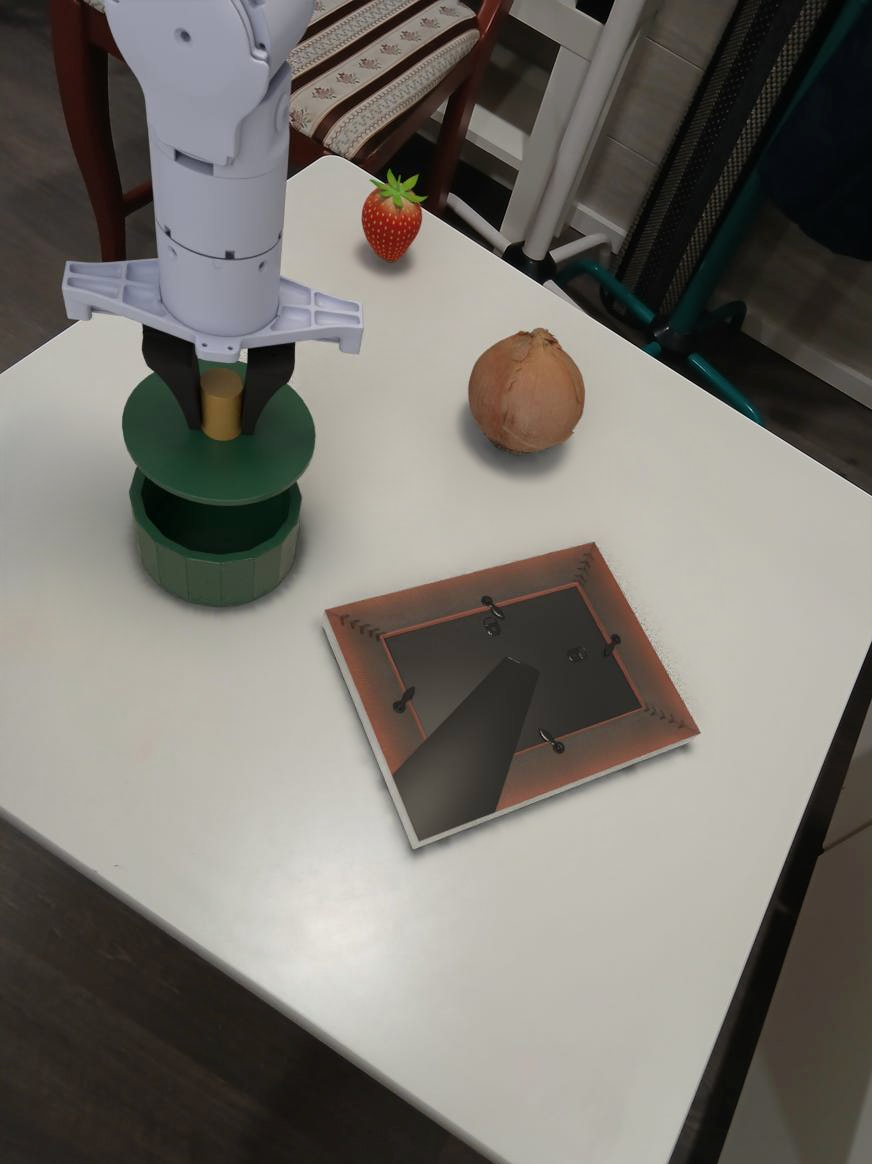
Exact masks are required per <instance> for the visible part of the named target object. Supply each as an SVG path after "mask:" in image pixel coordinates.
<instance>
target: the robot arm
mask: <svg viewBox="0 0 872 1164" xmlns="http://www.w3.org/2000/svg"><path fill="white" fill-rule="evenodd" d="M97 1H98V2H99V3H100V4H102V6H104V11H105V16H106V20H107V23H108V27H109V29H110V32H111V34H112V37H113V40H114V42H115V45H116V47H117V48H118V50H119V51H120V54H121V56H122V57H123V58H124V61H125V63H126V64H127V65H128V67H129V68H130V70H131V71H132V73H133V74H134V76H135V77H136V79H137V81H138V83H139V85H140V87H141V90H142V93H143V96H144V102H145V111H146V112H145V113H146V124H147V131H148V133H147V134H148V146H149V157H150V169H151V184H152V196H153V197H152V198H153V209H154V221H155V222H154V225H155V235H156V236H155V237H156V251H157V257H156V258H155V257H154V258H143V259H132V260H131V259H130V260H119V261H108V262H106V261H105V262H104V261H103V262H89V261H86V262H85V261H84V262H83V261H75V260H66V261H65V266H64V272H63V278H62V283H61V291H62V297H63V301H64V306H65V311H66V316H67V319H69V320H77V321H84V322H89V321H91V320H92V318H93V314H102V315H109V316H117V317H124V318H127V319H129V320H131V321H134V322H137V323H139V324H141V326H142V332H141V333H142V339H141V340H142V341H141V355H142V357H143V360H144V363H145V365H146V367H148V369H150V370H151V371H152V372H155V373H156V374H157V375H158V376H159V377H160V378H161V379H162V380H163V381H164V382H165V384H166V385H167V386H168V387H169V389H170V390H171V392H172V393H173V395H174V396H175V398H176V400H177V402H178V403H179V405H180V407H181V409H182V411H183V414H184V416H185V419H186V422H187V425H188V428H189V429H190V430H199V431H201V407H200V384H199V381H200V370H199V362H198V358H200V359H203V360H206V361H215V362H224V363H235V362H237V361H240V358H241V351H242V350H246V349H247V350H246V352H247V354H246V363H247V368H246V375H245V382H244V389H243V411H242V435H253V434H254V430H255V426H256V423H257V421H258V419H259V417H260V414H261V413H262V411H263V409H264V407H265V406H266V404H267V403H268V401H269V400H270V399H271V397H272V396H273V395H274V394H275V393H276V392H277V391H278V390H279V389H280V388H281V387H282V386H284V385H285V384H289V382H290V381H291V378H292V376H293V374H294V373H295V369H296V368H295V367H296V343H298V342H306V341H315V342H322V343H331V344H338V350H339V351H340V352H341V353H344V354H350V355H360V353H361V352H360V351H361V347H362V342H363V335H364V330H365V323H364V322H365V319H364V303H363V302H362V301H357V300H353V299H348V298H343V297H339V296H336V295H333V294H330V293H328V292H325V291H322V290H319V289H317V288H314V287H312V286H309V285H307V284H305V283H302V282H300V281H296V280H294V279H291V278H289V277H286V276H283V275H281V268H282V252H283V240H284V239H283V238H284V228H285V227H284V226H285V212H286V211H285V210H286V195H287V182H288V181H287V180H288V167H289V166H288V165H289V152H290V151H289V150H290V125H289V124H290V107H291V93H292V78H293V77H292V76H293V67H292V65H291V63H290V62H288V61H287V59H288V57H289V56H290V55H291V53H292V52H293V51H294V49H295V48H296V47H297V45H298V44H299V43H300V41H301V40H302V38H303V36H304V35H305V33H306V31H307V29H308V27H309V25H310V22H311V20H312V18H313V15H314V12H315V9H316V4H317V0H97Z"/></svg>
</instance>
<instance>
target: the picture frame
mask: <svg viewBox="0 0 872 1164" xmlns="http://www.w3.org/2000/svg"><path fill="white" fill-rule="evenodd" d="M603 556H604V555H602V552H601V551H600V549H599V547H598V546H597V544H596V542H595V541H592V542H587V543H583V544H579V545H576V546H572V547H569V548H568V547H567V548H565V549H560V550H555V551H552V552H547V553H544V554H541V555H537V556H536V555H535V556H531V557H528V558H524V559H521V560H516V561H513V562H509V563H504V564H501V565H495V566H493V567H489V568H485V569H480V570H476V571H473V572H469V573H465V574H461V575H456V576H453V577H450V578H445V579H441V580H436V581H434V582H430V583H425V584H422V585H418V586H414V587H410V588H407V589H406V588H405V589H402V590H401V589H400V590H398V591H393V592H391V593H390V592H389V593H386V594H382V595H377V596H374V597H370V598H366V599H363V600H358V601H354V602H350V603H346V604H342V605H339V606H335V607H330V608H327V609H324V612H323V616H322V620H321V624H322V627H323V629H324V632H325V634H326V637H327V639H328V642H329V645H330V647H331V650H332V652H333V655H334V658H335V659H336V662H337V664H338V667H339V669H340V672H341V674H342V677H343V679H344V682H345V684H346V686H347V689H348V691H349V694H350V696H351V699H352V702H353V704H354V706H355V710H356V711H357V714H358V717H359V719H360V721H361V724H362V726H363V729H364V731H365V735H366V737H367V739H368V741H369V744H370V746H371V749H372V751H373V754H374V756H375V759H376V761H377V763H378V764H377V765H378V766H379V768H380V771H381V773H382V777H383V779H384V781H385V785H386V786H387V788H388V791H389V794H390V796H391V798H392V801H393V804H394V806H395V809H396V811H397V814H398V816H399V818H400V821H401V823H402V826H403V828H404V831H405V833H406V835H407V838H408V841H409V843H410V846H411V848H412V850H416V849H419V848H421V847H423V846H426V845H429V844H431V843H433V842H437V841H439V840H441V839H444V838H447V837H450V836H451V835H454V834H457V833H459V832H462V831H465V830H468V829H470V828H471V827H472V828H473V827H475V826H477V825H480V824H482V823H483V824H484V823H485V822H489V821H490V820H493V819H496V818H498V817H501V816H503V815H505V814H509V813H512V812H513V811H517V810H518V809H521V808H524V807H526V806H530V805H532V804H534V803H537V802H539V801H542V800H545V799H547V798H550V797H552V796H555V795H557V794H560V793H563V792H565V791H567V790H570V789H573V788H576V787H578V786H580V785H584V784H586V783H589V782H591V781H593V780H596V779H598V778H601V777H604V776H607V775H609V774H611V773H614V772H616V771H620V770H621V769H625V768H627V767H630V766H632V765H635V764H638V763H640V762H642V761H644V760H647V759H650V758H652V757H655V756H658V755H660V754H663V753H665V752H669V751H670V750H673V749H676V748H678V747H682V746H683V745H686V744H688V743H690V742H692V741H693V740H694V739H695V738H697V737H698V736H699V735H700V734H701V731H700V729H699V727H698V725H697V723H696V721H695V720H694V717H693V715H692V714H691V713H690V711H689V708H688V707H687V706H686V704H685V701H684V700H683V698H682V697H681V695H680V693H679V690H678V689H677V687H676V686H675V684H674V683H673V680H672V678H671V676H670V675H669V673H668V671H667V669H666V668H665V666H664V664H663V662H662V660H661V659H660V657H659V655H658V653H657V651H656V650H655V647H654V646H653V644H652V642H651V641H650V639H649V637H648V636H647V633H646V632H645V630H644V628H643V626H642V625H641V623H640V620H639V619H638V618H637V616H636V613H635V612H634V610H633V608H632V607H631V605H630V603H629V601H628V599H627V598H626V596H625V593H624V592H623V590H622V588H621V587H620V585H619V584H618V581H617V579H616V578H615V576H614V574H613V573H612V570H611V569H610V567H609V565H608V564H607V562H606V560H605V558H604V557H603Z"/></svg>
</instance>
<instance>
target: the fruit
mask: <svg viewBox="0 0 872 1164" xmlns="http://www.w3.org/2000/svg"><path fill="white" fill-rule="evenodd" d="M386 177H387V182H386V183H383V182H379V181H377V180H375V179H373V178H372V179H368V181H369V182H371V183H372V184H373V185H374V186H375V187H376V188H374V190H372V191H371V192H370V193H369V194H368V196H367V197H366V199H365V200H364V203H363V206H362V210H361V226H362V231H363V233H364V236H365V238H366V241H367V242H368V245H369V246H370V248H371V249H372V251H373V253H375V254H376V255H377V256H378V257H379V258H380V259H381V260H384V261H386V262H390V263H393V262H396V261H399V260H400V259H401V258H402V257H403V256H404V255H405V254H406V252H407V251H408V250H409V248H410V246H412V244H413V242H414V241H415V239H416V237H418V234H419V232H420V230H421V227H422V223H423V210H422V206H421V203H422V202H423V201H424V200H426V199H427V198H428V197H429V196H428V195H426V196H419V195H416V193H415V192H414V191H413V190H412V189H413V188H414V187H415V186H416V184H417V182H418V178H419V173H418V174H415V175H413V176H411V177H410V178H408V179H406V180H405V181H404V182H403V183H402V182H401V175H399V176H398V179H396V177H395V176H394V174H393V173H392V170H391V168H389V169H388V170H387V173H386Z"/></svg>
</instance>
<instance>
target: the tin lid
mask: <svg viewBox="0 0 872 1164" xmlns="http://www.w3.org/2000/svg"><path fill="white" fill-rule="evenodd" d="M198 362H199V370H200V381H199V384H200V407H201V431H199V430H190V429H189V428H188V425H187V422H186V419H185V416H184V414H183V411H182V409H181V407H180V405H179V403H178V402H177V400H176V398H175V396H174V395H173V393H172V392H171V390H170V389H169V387H168V386H167V385H166V384H165V382H164V381H163V380H162V379H161V378H160V377H159V376H158V375H157V374H156V373H155V372H154V371H152V373H150V374H149V375H147V376H145V378H143V379H142V380H141V381H140V382H139V383H138V384H137V385H136V386H135V387H134V388H133V389H132V391H131V393H130V394H129V396H128V397H127V400H126V402H125V405H124V407H123V411H122V415H121V430H122V436H123V437H122V438H123V442H124V446H125V448H126V451H127V453H128V455H129V456H130V458H131V460H132V461H133V463H134V464H135V465H136V467H138V468H139V469H140V470H141V471H142V472H143V473H144V474H145V475H146V476H147V477H148V478H149V479H150V480H151V481H153V482H154V483H155V484H157V485H158V486H160V487H161V488H163V489H165V490H166V491H168V492H170V493H172V494H175V495H177V496H179V497H182V498H185V499H187V500H190V501H194V502H198V503H203V504H209V505H217V506H236V505H246V504H251V503H256V502H259V501H263V500H266V499H269V498H271V497H273V496H276V495H278V494H280V493H281V492H283V491H285V490H286V489H288V488H289V487H290V486H292V485H293V484H294V483H295V482H296V481H297V482H298V480H299V479H301V477H302V476H303V475H304V474H305V472H306V471H307V469H308V468H309V466H310V464H311V462H312V459H313V456H314V452H315V449H316V439H317V438H316V437H317V435H316V426H315V422H314V418H313V416H312V414H311V411H310V409H309V407H308V406H307V404H306V402H305V401H304V400H303V398H302V397H301V396H300V395H299V393H298V392H297V391H296V390H295V389H294V388H293V386H291V385H290V384H289V383H287V384H285V385H284V386H282V387H281V388H280V389H279V390H278V391H277V392H276V393H275V394H274V395H273V396H272V397H271V399H270V400H269V401H268V403H267V404H266V406H265V407H264V409H263V411H262V413H261V414H260V417H259V419H258V421H257V423H256V426H255V430H254V434H253V435H242V411H243V389H244V382H245V375H246V368H247V362H244V361H241V360H238V361H237V362H235V363H224V362H215V361H206V360H203V359H200V358H199V357H198Z"/></svg>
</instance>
